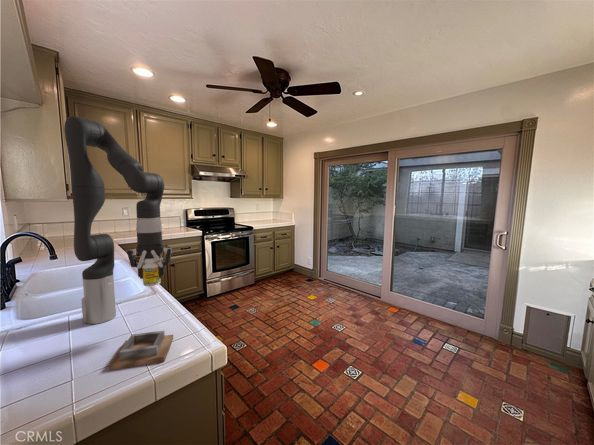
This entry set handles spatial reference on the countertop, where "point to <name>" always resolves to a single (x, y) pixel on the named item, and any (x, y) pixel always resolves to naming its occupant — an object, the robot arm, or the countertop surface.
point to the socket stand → (142, 350)
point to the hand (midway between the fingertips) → (151, 277)
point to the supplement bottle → (151, 272)
